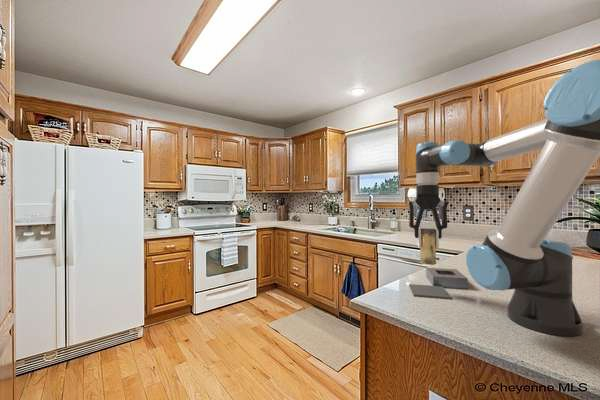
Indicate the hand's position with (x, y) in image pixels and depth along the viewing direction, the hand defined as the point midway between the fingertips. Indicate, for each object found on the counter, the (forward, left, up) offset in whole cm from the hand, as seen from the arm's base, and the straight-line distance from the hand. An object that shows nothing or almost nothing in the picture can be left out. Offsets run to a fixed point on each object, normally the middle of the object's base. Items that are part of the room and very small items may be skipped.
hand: (427, 246), depth 97 cm
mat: (0, 0, -17) cm, 17 cm away
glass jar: (0, 0, -6) cm, 6 cm away
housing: (+14, -9, -17) cm, 23 cm away
